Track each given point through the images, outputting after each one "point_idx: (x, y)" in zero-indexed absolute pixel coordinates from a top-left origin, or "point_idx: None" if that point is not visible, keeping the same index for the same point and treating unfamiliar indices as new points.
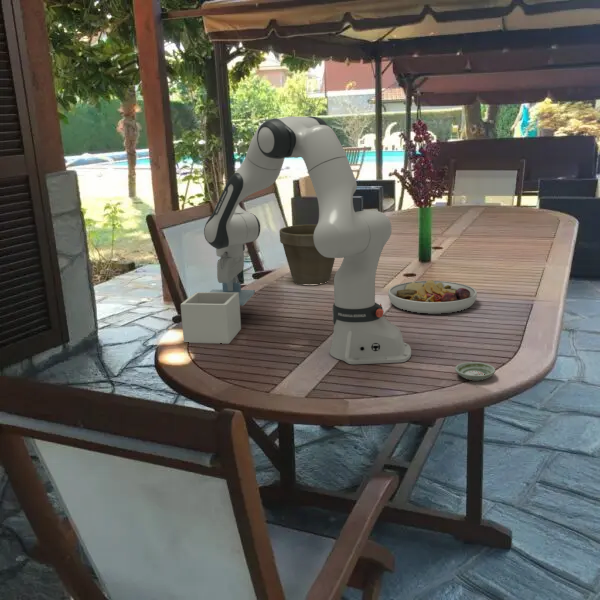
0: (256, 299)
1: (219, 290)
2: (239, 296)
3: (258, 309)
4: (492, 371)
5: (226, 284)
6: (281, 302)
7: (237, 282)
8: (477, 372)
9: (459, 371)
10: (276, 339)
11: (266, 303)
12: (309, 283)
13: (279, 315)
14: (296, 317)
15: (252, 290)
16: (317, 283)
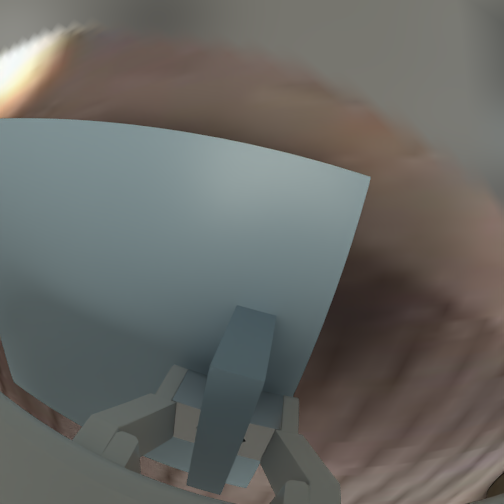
0: (476, 383)
1: (299, 266)
2: (91, 399)
3: (313, 403)
4: None
5: (205, 396)
6: (383, 460)
7: (221, 483)
8: None
9: None
10: (10, 375)
11: (398, 424)
12: (499, 482)
13: None
14: (178, 471)
15: (236, 480)
16: (489, 492)
